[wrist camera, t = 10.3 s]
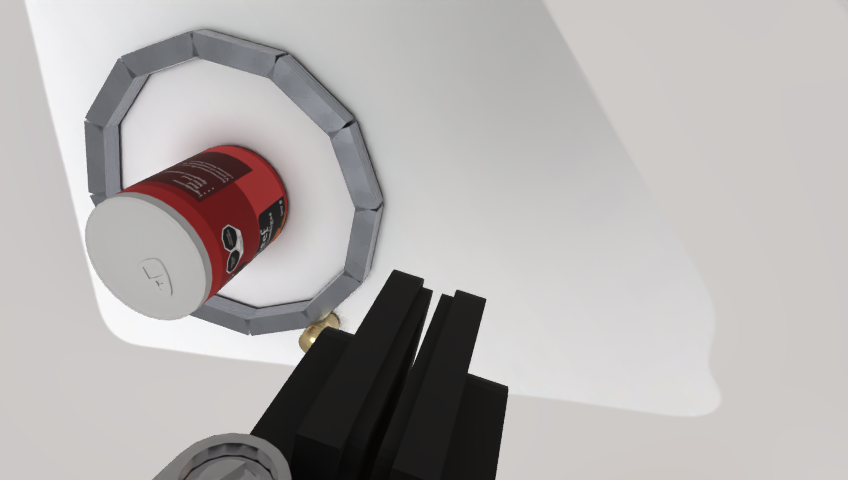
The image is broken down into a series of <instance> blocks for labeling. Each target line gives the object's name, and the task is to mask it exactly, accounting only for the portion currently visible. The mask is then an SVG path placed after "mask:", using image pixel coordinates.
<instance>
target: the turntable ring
mask: <svg viewBox="0 0 848 480" xmlns="http://www.w3.org/2000/svg"><path fill="white" fill-rule="evenodd" d="M121 57H122V58H119V59H118V60H117V62H116V64H115V66H114V67H113V69H112V71H111V73H110V74H109V76H108V78H107V80H106V81H105V83H104V85H103V87H102V88H101V90H100V92H99V94H98V95H97V97H96V99H95V101H94V103H93V104H92V106H91V108H90V110H89V111H88V113H87V115H86V117H85V118H86V119H87V120H86V121H84V124H85V141H86V157H87V174H88V190H89V192H90V193H93V194H92V195H90V197H91V199H92V201H93V203H94V205H95V207H96V206H97V205H98V204H100V203H102V202H103V201H104V200H105V199H107V198H109V197H111V196H113V195H114V194H116V193H118V192H121V189H120V164H119V133H118V125H119V123H120V122H121V120H122V118H123V117H124V115H125V113H126V112H127V110H128V108H129V107H130V105H131V104H132V102H133V100H134V99H135V97H136V95H137V94H138V92H139V90H140V89H141V87H142V86H143V84H144V82H145V81H146V79H147V77H148V76H149V74H152V73H155V72H158V71H161V70H164V69H167V68H170V67H172V66H175V65H178V64H181V63H184V62H187V61H190V60H193V59H196V58H201V59H205V60H208V61H211V62H215V63H218V64H222V65H225V66H229V67H232V68H236V69H239V70H242V71H246V72H249V73H253V74H256V75H260V76H263V77H266V78H270V79H271V80H272V81H273V82H274V83H275V84H276V85H277V86H278V87H279V88H280V89H281V90H282V91H283V92H284V93H285V94H286V95H287V96H288V97H289V98H290V99H291V100H292V101H293V102H294V103H295V104H296V105H297V106H298V107H299V108H301V109H302V110H303V111H304V112H305V113H306V114H307V115H308V116H309V117H310V118H311V119H312V120H313V121H314V122H315V123H316V124H317V125H318V126H319V127H320V128H321V129H322V130H323V131H324V132H325V133H326V134H327V135H328V136H329V137H330V140H331V143H332V146H333V148H334V151H335V154H336V157H337V159H338V162H339V165H340V168H341V171H342V173H343V176H344V179H345V182H346V185H347V187H348V190H349V193H350V196H351V198H352V201H353V204H354V207H355V213H354V218H353V224H352V229H351V235H350V240H349V246H348V251H347V257H346V262H345V267H344V270H343V271H342V272H341V273H340V274H338V275H337V276H336V277H335V278H334V279H333V280H332V281H331V282H330V283H329V284H328V285H327V286H326V287H325V288H324V289H323V290H322V291H321V292H320V293H319V294H317V295H316V296H315V297H314V298H313V299H312V300H311V301H305V302H299V303H293V304H286V305H280V306H274V307H267V308H261V309H254V308H251V307H248V306H245V305H242V304H239V303H236V302H233V301H230V300H228V299H225V298H222V297H219V296H216V295H214V296H213V297H211V298H210V299H209V300H208V301H206V302H205V303H204V304H203V305H202V306H201V307H199V308H198V309H197V310H195V311H194V312H192V313H191V314H189V315H191V316H194V317H197V318H200V319H203V320H205V321H208V322H211V323H214V324H217V325H220V326H223V327H226V328H229V329H232V330H234V331H237V332H240V333H243V334H246V335H249V334H250V333H251V335H252V336H253V335H260V334H267V333H274V332H281V331H289V330H296V329H303V328H306V330H305V331H304V332H303V334H302V335H301V336H300V338H299V345H300V347H301V349H302V350H303V351H304V352H305V353H306V352H307V351H308V350H309V348H310V347H311V345H312V344H313V342H314V341H315V339H316V338H317V337H318V335H319V334H320V332H321V331H322V330H323V329H324V328H325V327H327V326H330V327H333V328H336V329H338V327H339V323H338V320H337V318H336V317H335V316H334V315H333V314H331V313H330V312H332V311H333V310H334V309H335V308H336V307H337V306H338V305H339V304H340V303H341V302H342V301H344V300H345V299H346V298H347V297H348V296H349V295H350V294H351V293H352V292H353V291H355V290H356V289H357V288H358V287H359V286H360V285H361V284H362V282H363V281H364V279H365V278H366V277H367V275H368V273H369V271H370V266H371V262H372V257H373V252H374V247H375V242H376V238H377V233H378V228H379V223H380V219H381V214H382V209H383V204H382V203H381V202H382V201H383V198H382V195H381V192H380V189H379V186H378V183H377V180H376V177H375V174H374V171H373V168H372V165H371V162H370V159H369V157H368V154H367V151H366V148H365V145H364V142H363V139H362V136H361V133H360V130H359V127H358V124H357V121H356V122H353V123H350V122H351V121H352V120H353V118H354V117H353V116H352V115H351V114H350V113H349V112H348V111H347V110H346V109H345V108H344V107H343V106H342V105H341V104H340V103H339V102H338V101H337V100H336V99H335V98H334V97H333V96H332V95H331V94H330V93H329V92H328V91H327V90H326V89H325V88H324V87H323V86H322V85H321V84H320V83H319V82H318V81H317V80H316V79H315V78H313V77H312V76H311V75H310V74H309V73H308V72H307V71H306V70H305V69H304V68H303V67H302V66H301V65H300V64H299V63H298V62H297V61H296V60H295V59H294V58H293V57H292V56H291V55H287V56H286V52H284V51H280V50H277V49H273V48H270V47H266V46H263V45H259V44H256V43H252V42H249V41H245V40H242V39H238V38H235V37H231V36H228V35H224V34H221V33H217V32H213V31H210V30H197V31H190V32H187V33H184V34H181V35H179V36H176V37H173V38H170V39H168V40H165V41H162V42H159V43H157V44H154V45H151V46H148V47H146V48H143V49H140V50H137V51H135V52H132V53H129V54H126V55H124V56H121Z"/></svg>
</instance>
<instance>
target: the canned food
mask: <svg viewBox="0 0 848 480" xmlns="http://www.w3.org/2000/svg"><path fill="white" fill-rule="evenodd" d="M286 215H287V198H286V193H285V190H284V187H283V184H282V182H281V180H280V179H279V177H278V175H277V173H276V172H275V171H274V170H273V168H272V167H271V166H270V165H269V164H268V163H267V162H266V161H265V160H264V159H263V158H261V157H260V156H258V155H257V154H255V153H254V152H252V151H249V150H247V149H244V148H240V147H235V146H217V147H213V148H209V149H207V150H205V151H203V152H201V153H199V154H197V155H195V156H193V157H191V158H188V159H186V160H184V161H182V162H180V163H178V164H176V165H174V166H172V167H170V168H168V169H165V170H163V171H161V172H159V173H157V174H155V175H153V176H151V177H149V178H147V179H145V180H142V181H140V182H138V183H136V184H134V185H132V186H130V187H128V188H126V189H124V190H122V191H121V192H118V193H116V194H114V195H113V196H111V197H109V198H107V199H105V200H104V201H103V202H102V203H100V204H98V205H97V206H96V208H95V209H94V210H93V211H92V212H91V214H90V216H89V218H88V220H87V225H86V229H85V241H86V247H87V252H88V255H89V258H90V260H91V263H92V265H93V267H94V269H95V271H96V273H97V275H98V276H99V278H100V279H101V280H102V282H103V283H104V285H105V286H106V287H107V288H108V289H109V290H110V291H111V292H112V294H113V295H114V296H115V297H117V298H118V299H119V300H120V301H121V302H123V303H124V304H125V305H126V306H128V307H130V308H131V309H133V310H135V311H136V312H138V313H141V314H143V315H145V316H147V317H151V318H155V319H159V320H176V319H181V318H183V317H186V316H188V315H189V314H191V313H192V312H194V311H195V310H197V309H198V308H199V307H201V306H202V305H203V304H204V303H205V302H206V301H208V300H209V299H210V298H211V297H213V296H214V295H215V294H216V293H217V292H218V291H219V290H220V289H221V288H222V287H223V286H225V285H226V284H227V283H228V282H229V281H230V280H231V279H232V278H233V277H234V276H235V275H237V274H238V273H239V272H240V271H241V270H242V269H243V268H244V267H245V266H246V265H247V264H248V263H250V262H251V261H252V260H253V259H254V258H255V257H256V256H257V255H258V254H259V253H260V252H262V251H263V250H264V249H265V248H266V247H267V246H268V245H269V244H270V243H271V242H272V241H274V240H275V239H276V237H277V236H278V235H279V233H280V232H281V230H282V227H283V225H284V222H285V219H286Z"/></svg>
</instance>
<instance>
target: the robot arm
mask: <svg viewBox="0 0 848 480" xmlns="http://www.w3.org/2000/svg"><path fill="white" fill-rule="evenodd" d="M423 283H424V279H423V278H420V277H417V276H413V275H410V274H407V273H404V272H401V271H398V270H393V271H392V273H391V275H390V276H389V278H388V280H387V281H386V283H385V285H384V286H383V288H382V290H381V291H380V293H379V295H378V296H377V298H376V300H375V301H374V303H373V305H372V306H371V308H370V310H369V311H368V313H367V315H366V316H365V318H364V320H363V322H362V323H361V325H360V327H359V328H358V330H357V332H356V333H355V335H353V334H351V333H348V332H345V331H342V330H339V329H336V328H333V327H330V326H327V327H325V328H324V329H323V330H322V331H321V332H320V334H319V335H318V337H317V338H316V339H315V341H314V342H313V344H312V345H311V347H310V348H309V350H308V351H307V352H306V354H305V355H304V357H303V358H302V360H301V361H300V362H299V364H298V365H297V367H296V368H295V370H294V371H293V372H292V374H291V375H290V377H289V378H288V380H287V381H286V383H285V384H284V385H283V387H282V388H281V390H280V391H279V393H278V394H277V396H276V397H275V398H274V400H273V401H272V403H271V404H270V406H269V407H268V408H267V410H266V411H265V413H264V414H263V416H262V417H261V419H260V420H259V421H258V423H257V424H256V426H255V427H254V429H253V430H252V431H251V433H250V434H238V433H228V434H221V435H214V436H211V437H209V438H206V439H203V440H201V441H198V442H196V443H194V444H193V445H191V446H190V447H189V448H187V449H186V450H184V451H183V452H182V453H180V454H179V455H178V456H177V457H176V458H175V459H174V460H173V461H172V462H170V463H169V464H168V466H166V467H165V468H164V469H163V470H162V471H161V472H160V473H159V474H158V475H157V476H156V477H155V478H153V480H495V477H496V471H497V464H498V458H499V451H500V444H501V438H502V431H503V424H504V418H505V411H506V404H507V398H508V386H505V385H502V384H499V383H496V382H493V381H490V380H487V379H484V378H481V377H478V376H475V375H472V374H469V373H468V369H469V365H470V361H471V357H472V353H473V349H474V346H475V342H476V338H477V334H478V330H479V326H480V322H481V319H482V315H483V311H484V307H485V303H486V299H485V298H482V297H479V296H476V295H473V294H469V293H466V292H463V291H460V290H456V292H455V295H454V297H452V296H449V295H445V294H442V295H441V298H440V300H439V303H438V305H437V308H436V310H435V313H434V315H433V317H432V320H431V322H430V325H429V327H428V330H427V332H426V335H425V337H424V340H423V342H422V345H421V347H420V350H419V352H418V355H417V357H416V360H415V362H414V359H415V355H416V352H417V348H418V344H419V341H420V337H421V334H422V330H423V326H424V323H425V319H426V316H427V312H428V308H429V305H430V301H431V297H432V293H433V290H430V289H427V288H424V287H423ZM413 363H414V365H413ZM412 366H413V367H412Z"/></svg>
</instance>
